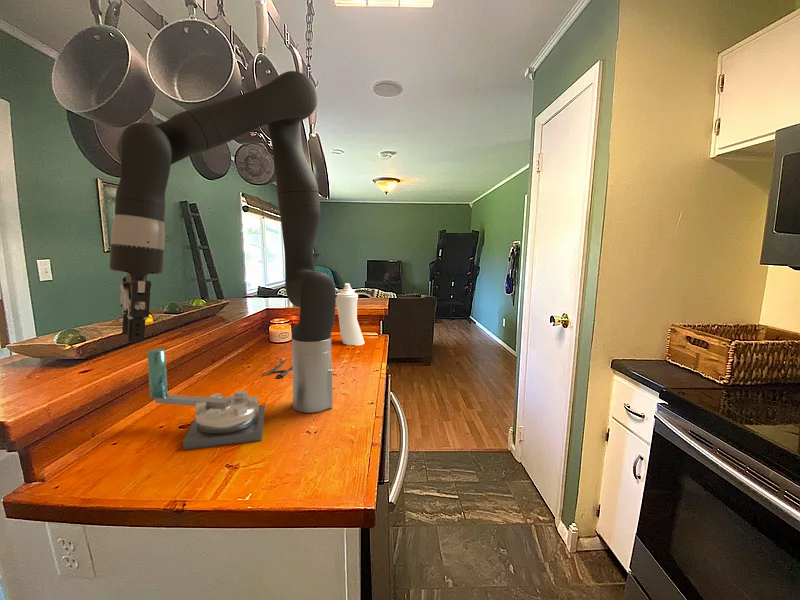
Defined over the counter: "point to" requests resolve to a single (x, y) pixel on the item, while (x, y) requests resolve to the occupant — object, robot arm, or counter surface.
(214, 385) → the counter surface
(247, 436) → the base plate
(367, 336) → the counter surface
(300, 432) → the counter surface
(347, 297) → the white bottle
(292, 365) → the hacksaw
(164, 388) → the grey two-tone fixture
